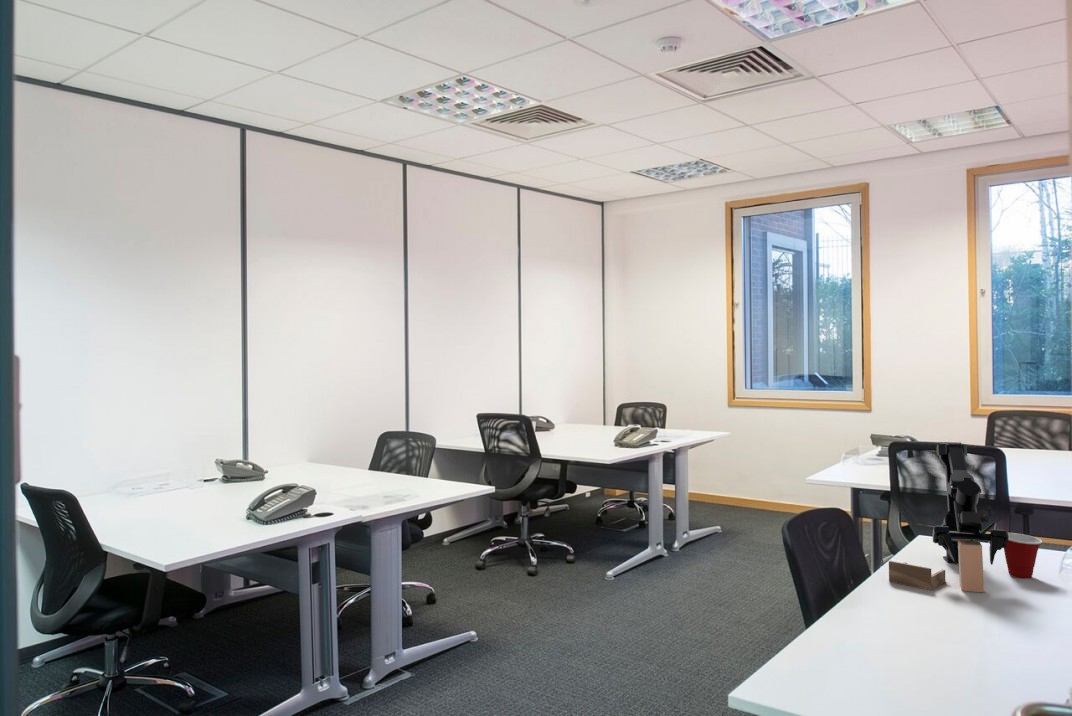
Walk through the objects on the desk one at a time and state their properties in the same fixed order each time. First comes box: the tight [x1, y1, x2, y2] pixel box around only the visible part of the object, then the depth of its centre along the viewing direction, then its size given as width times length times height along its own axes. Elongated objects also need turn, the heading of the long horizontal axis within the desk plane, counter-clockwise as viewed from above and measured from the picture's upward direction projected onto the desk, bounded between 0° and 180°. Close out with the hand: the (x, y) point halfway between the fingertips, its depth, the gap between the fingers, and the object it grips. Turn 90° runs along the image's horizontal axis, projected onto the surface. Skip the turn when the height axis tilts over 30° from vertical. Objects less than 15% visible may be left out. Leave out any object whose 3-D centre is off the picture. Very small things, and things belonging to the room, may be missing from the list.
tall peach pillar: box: [958, 540, 985, 593], centre depth 214 cm, size 6×6×13 cm
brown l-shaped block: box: [888, 560, 946, 591], centre depth 221 cm, size 11×12×6 cm
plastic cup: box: [1003, 532, 1043, 580], centre depth 225 cm, size 11×11×12 cm
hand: (973, 562), depth 212 cm, fingers open, 9 cm apart
